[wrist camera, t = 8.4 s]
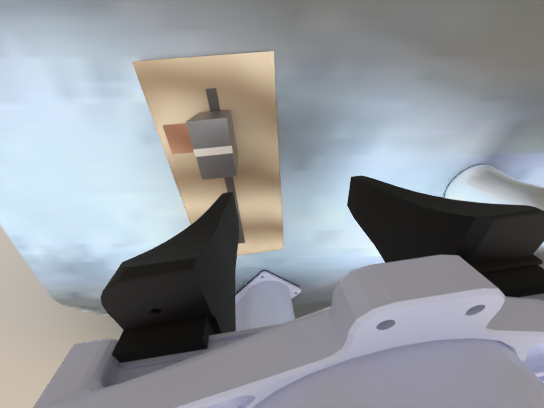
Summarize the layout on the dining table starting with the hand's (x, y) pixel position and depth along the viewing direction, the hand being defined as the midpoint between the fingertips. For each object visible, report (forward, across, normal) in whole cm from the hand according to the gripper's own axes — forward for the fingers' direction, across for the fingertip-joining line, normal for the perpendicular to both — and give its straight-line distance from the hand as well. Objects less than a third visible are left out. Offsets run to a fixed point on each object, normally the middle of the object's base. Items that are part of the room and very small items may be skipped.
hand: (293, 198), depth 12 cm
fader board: (+9, +5, +2) cm, 11 cm away
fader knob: (+7, +5, -2) cm, 9 cm away
